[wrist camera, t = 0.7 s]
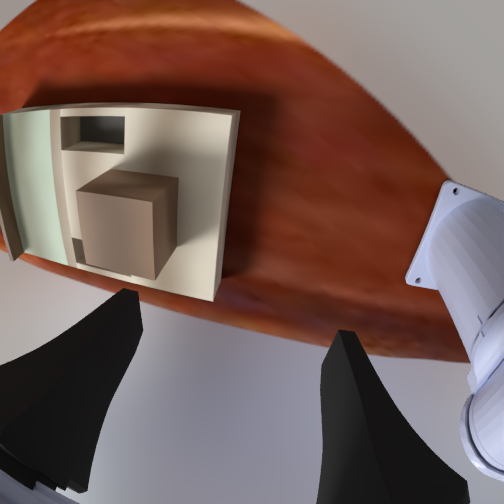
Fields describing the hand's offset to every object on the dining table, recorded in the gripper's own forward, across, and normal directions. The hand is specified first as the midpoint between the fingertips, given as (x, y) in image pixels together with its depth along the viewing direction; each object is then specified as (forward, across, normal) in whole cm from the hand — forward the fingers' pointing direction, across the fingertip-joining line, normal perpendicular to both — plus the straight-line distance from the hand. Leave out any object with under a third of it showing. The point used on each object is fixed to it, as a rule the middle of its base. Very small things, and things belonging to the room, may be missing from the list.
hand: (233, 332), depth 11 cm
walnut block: (+8, +7, 0) cm, 11 cm away
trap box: (+11, +11, 0) cm, 15 cm away
